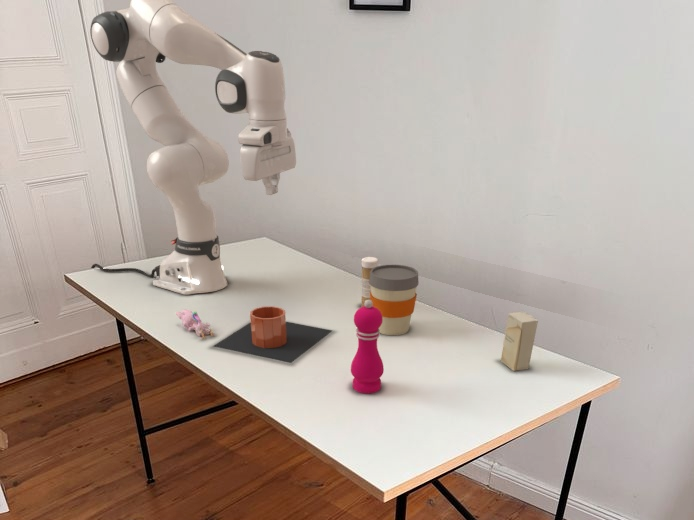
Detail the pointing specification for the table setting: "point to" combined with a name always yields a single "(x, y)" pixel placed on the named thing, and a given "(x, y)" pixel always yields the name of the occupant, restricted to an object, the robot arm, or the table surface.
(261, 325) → the cup
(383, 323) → the reusable coffee cup
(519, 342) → the cosmetic box
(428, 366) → the table surface
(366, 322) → the pepper mill
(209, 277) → the robot arm
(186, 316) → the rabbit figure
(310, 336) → the mat
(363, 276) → the spice jar
